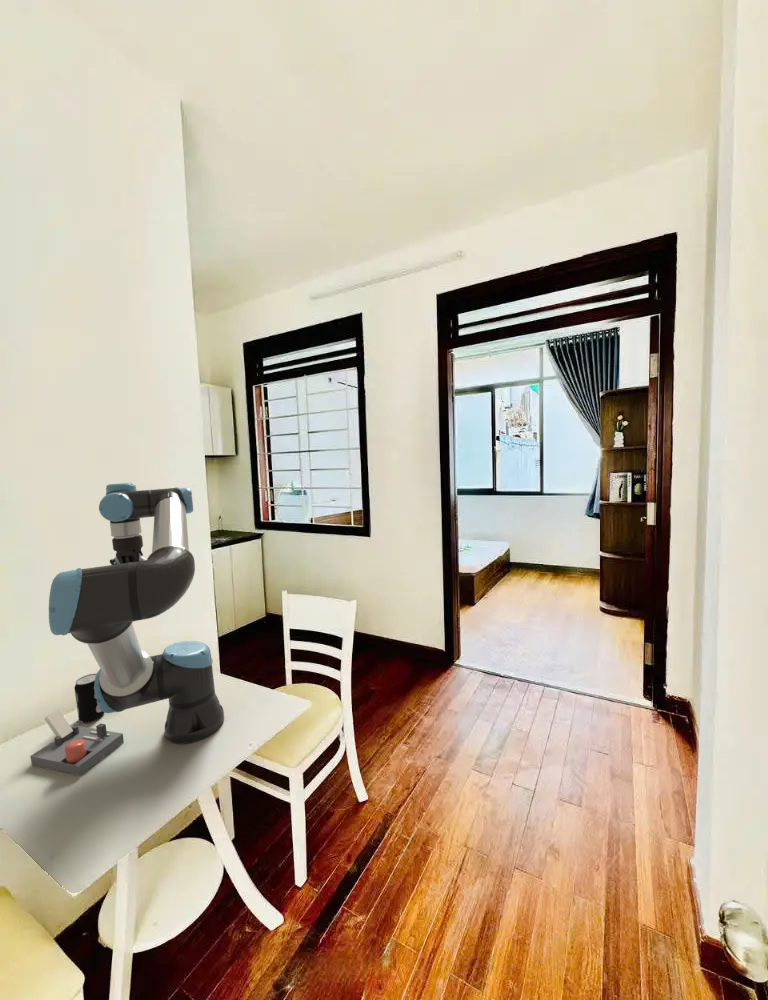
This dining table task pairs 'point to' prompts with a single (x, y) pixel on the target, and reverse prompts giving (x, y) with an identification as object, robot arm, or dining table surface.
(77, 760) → the button
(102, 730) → the slider
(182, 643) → the robot arm
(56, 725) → the toggle
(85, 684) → the beverage can
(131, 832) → the dining table surface
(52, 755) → the panel
